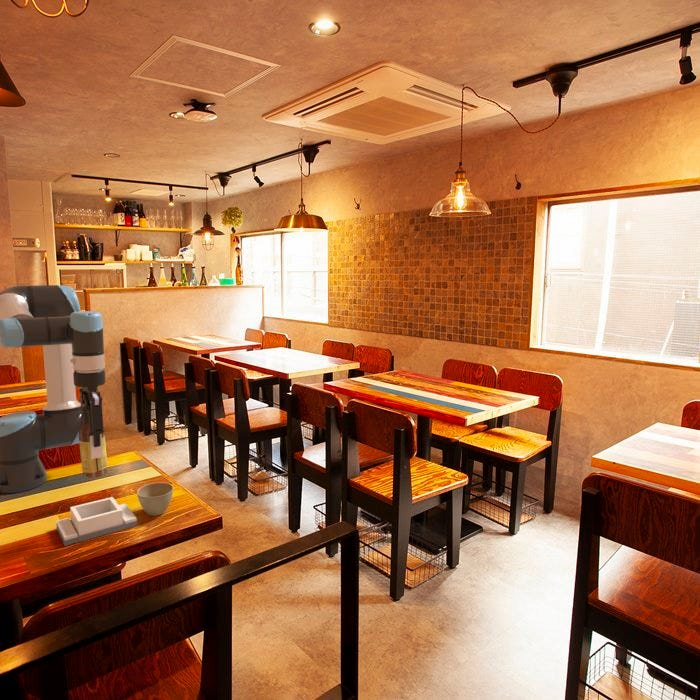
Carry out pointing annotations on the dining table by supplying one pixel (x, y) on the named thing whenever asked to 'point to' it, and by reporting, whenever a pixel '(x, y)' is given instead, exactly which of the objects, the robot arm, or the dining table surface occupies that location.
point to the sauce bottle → (90, 465)
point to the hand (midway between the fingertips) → (93, 453)
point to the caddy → (95, 520)
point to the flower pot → (155, 497)
